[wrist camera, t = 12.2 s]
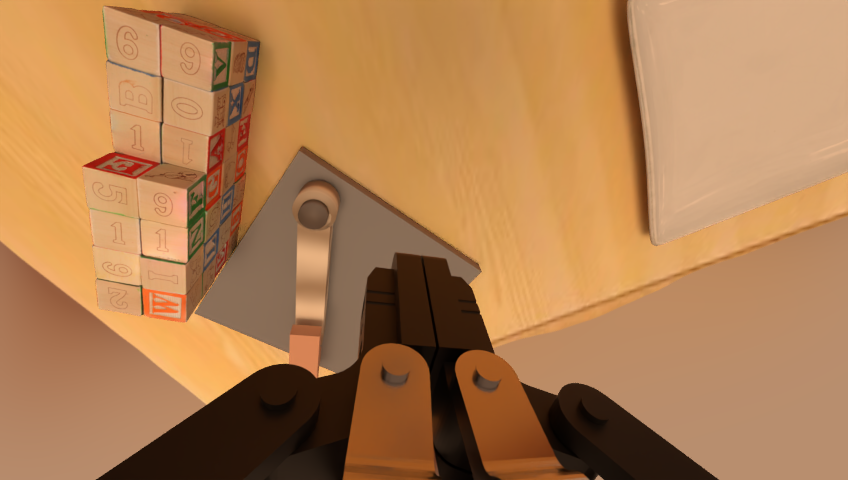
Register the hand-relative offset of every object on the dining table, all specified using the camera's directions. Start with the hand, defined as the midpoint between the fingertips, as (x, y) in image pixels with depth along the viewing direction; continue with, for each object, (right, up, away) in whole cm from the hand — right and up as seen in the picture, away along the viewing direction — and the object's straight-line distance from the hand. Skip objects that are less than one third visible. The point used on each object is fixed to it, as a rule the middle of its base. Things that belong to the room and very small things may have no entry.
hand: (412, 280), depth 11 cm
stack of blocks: (-20, +10, +24) cm, 33 cm away
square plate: (+34, +18, +26) cm, 46 cm away
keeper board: (-10, -4, +33) cm, 34 cm away
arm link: (-12, -1, +29) cm, 31 cm away
